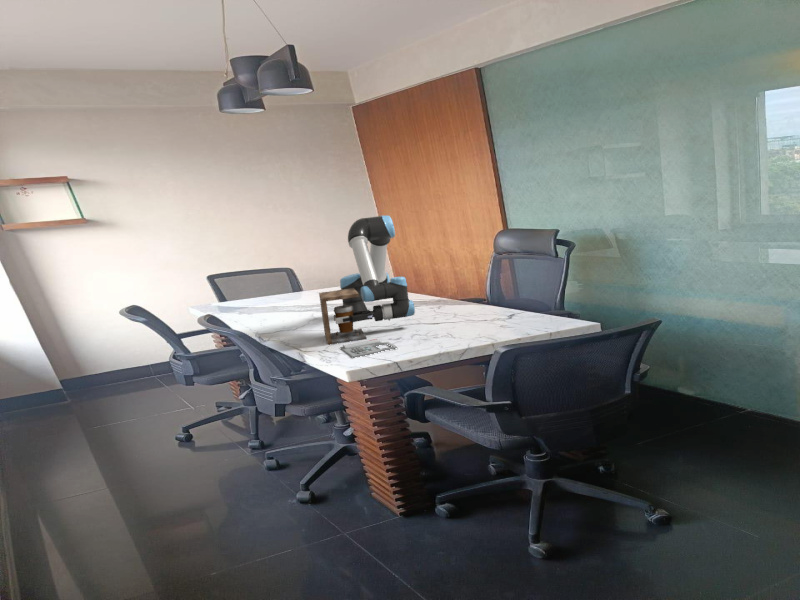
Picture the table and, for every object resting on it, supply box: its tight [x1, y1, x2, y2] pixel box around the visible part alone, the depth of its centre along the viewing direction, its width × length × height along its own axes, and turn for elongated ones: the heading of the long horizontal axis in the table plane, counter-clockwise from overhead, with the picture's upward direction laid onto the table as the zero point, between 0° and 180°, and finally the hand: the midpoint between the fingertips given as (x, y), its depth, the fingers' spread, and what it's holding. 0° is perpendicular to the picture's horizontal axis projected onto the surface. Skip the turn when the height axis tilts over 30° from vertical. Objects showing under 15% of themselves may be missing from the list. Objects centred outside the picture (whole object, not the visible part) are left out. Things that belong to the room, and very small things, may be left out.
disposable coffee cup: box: [333, 304, 354, 333], centre depth 320 cm, size 10×10×12 cm
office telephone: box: [339, 338, 398, 359], centre depth 291 cm, size 23×3×20 cm
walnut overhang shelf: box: [318, 288, 368, 346], centre depth 319 cm, size 18×22×22 cm
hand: (334, 319), depth 319 cm, fingers closed on disposable coffee cup, 8 cm apart
